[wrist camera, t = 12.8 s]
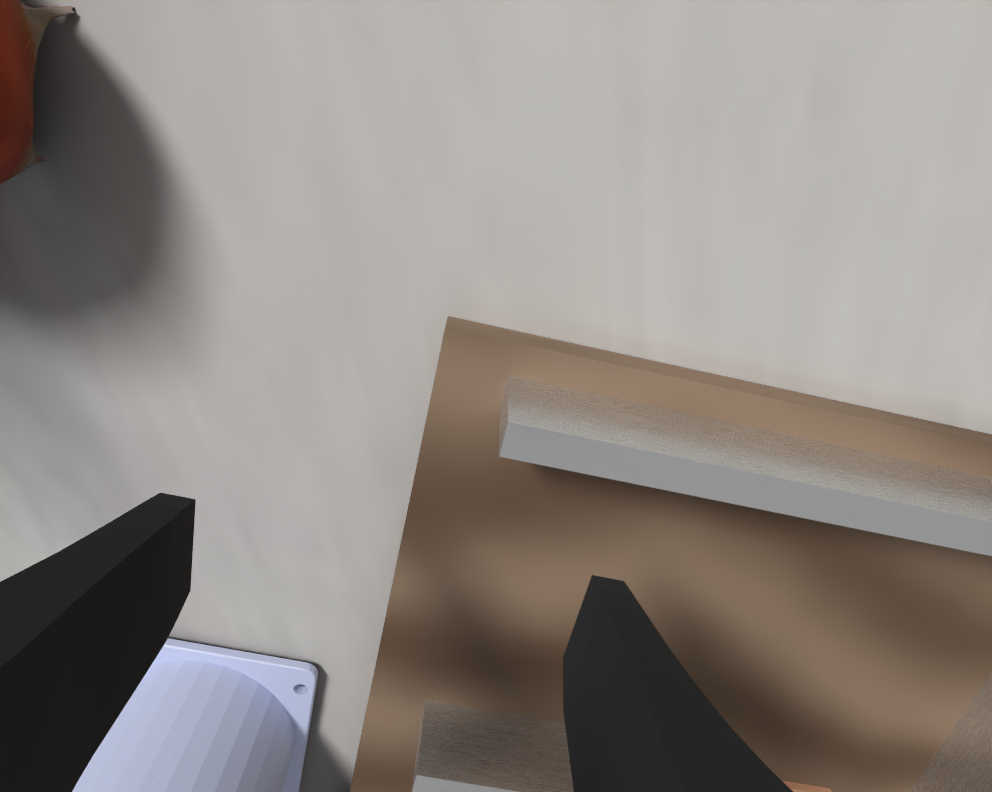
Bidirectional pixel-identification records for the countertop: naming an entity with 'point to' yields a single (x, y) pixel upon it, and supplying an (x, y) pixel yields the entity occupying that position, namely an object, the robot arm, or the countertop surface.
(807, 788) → the pad
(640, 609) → the robot arm
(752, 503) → the channel walls
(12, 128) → the fruit
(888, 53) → the countertop surface
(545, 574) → the walnut board
